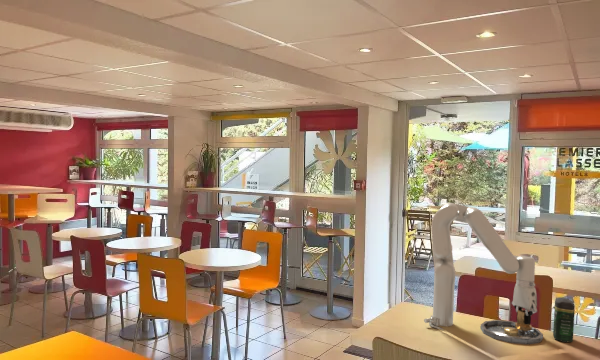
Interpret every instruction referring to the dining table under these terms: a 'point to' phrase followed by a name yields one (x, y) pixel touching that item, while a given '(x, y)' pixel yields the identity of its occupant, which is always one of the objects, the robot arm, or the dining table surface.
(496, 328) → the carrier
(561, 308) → the coffee jar
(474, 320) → the dining table surface
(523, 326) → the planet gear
